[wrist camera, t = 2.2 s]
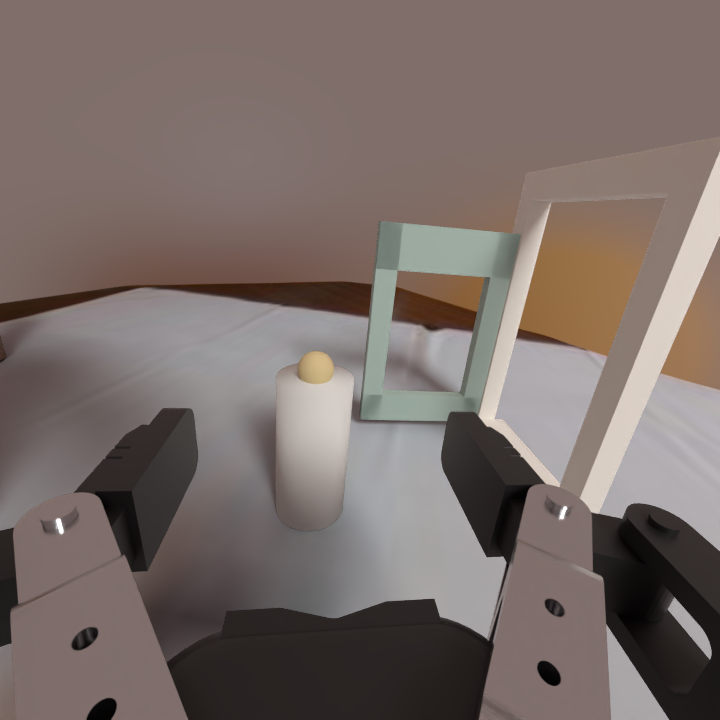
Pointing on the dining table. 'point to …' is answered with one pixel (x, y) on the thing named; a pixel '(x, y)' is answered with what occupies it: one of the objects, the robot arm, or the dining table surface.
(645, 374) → the door frame
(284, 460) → the white candle
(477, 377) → the grey-green rectangular frame
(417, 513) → the dining table surface
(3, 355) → the wooden braced frame
